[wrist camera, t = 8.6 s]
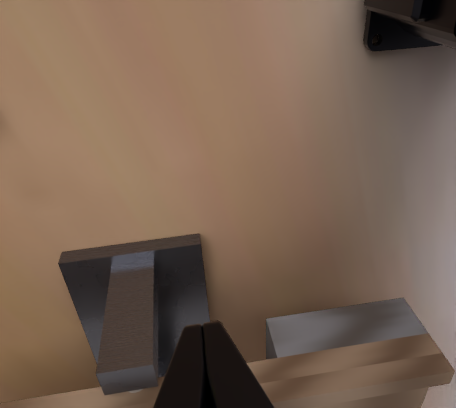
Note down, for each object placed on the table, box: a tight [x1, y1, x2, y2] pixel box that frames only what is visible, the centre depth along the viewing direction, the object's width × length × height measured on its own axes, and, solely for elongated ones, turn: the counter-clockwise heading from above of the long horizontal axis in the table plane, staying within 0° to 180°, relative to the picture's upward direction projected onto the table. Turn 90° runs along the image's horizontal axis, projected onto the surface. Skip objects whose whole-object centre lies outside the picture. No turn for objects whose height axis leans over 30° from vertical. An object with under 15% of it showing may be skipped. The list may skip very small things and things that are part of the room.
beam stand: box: [58, 234, 210, 395], centre depth 24 cm, size 8×14×8 cm, turn 3°
